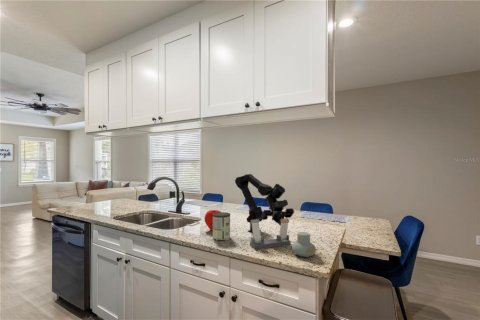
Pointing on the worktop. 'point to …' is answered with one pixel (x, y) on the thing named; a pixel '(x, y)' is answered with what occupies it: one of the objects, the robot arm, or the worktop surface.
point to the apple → (210, 218)
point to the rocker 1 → (256, 230)
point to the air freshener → (303, 245)
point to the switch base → (270, 242)
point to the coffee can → (221, 226)
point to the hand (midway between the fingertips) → (283, 226)
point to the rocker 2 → (284, 228)
